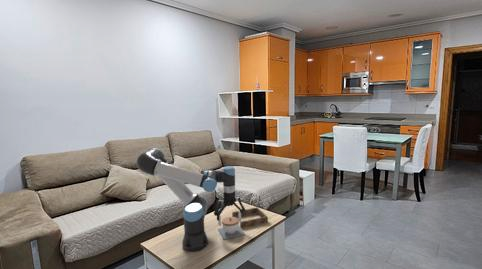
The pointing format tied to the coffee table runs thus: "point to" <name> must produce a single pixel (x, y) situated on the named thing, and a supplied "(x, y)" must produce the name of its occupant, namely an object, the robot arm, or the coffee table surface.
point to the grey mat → (228, 236)
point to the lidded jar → (230, 224)
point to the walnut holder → (251, 222)
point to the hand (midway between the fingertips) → (229, 223)
